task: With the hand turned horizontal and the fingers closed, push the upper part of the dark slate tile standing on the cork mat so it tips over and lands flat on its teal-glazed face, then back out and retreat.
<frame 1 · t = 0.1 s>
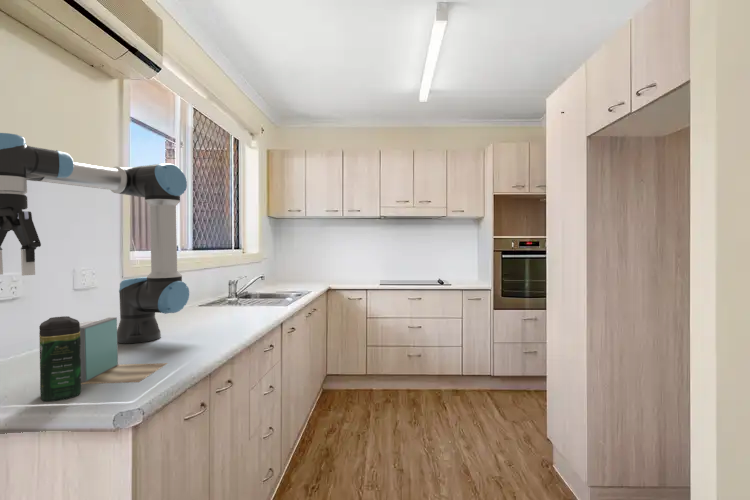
hand: (12, 275, 117), 28 cm above the countertop, tool pointing down, fingers open, 13 cm apart
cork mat: (120, 374, 122), on the countertop
coffee jar: (61, 397, 104), on the countertop
mug: (87, 356, 143), on the countertop
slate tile: (98, 373, 121), resting on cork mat
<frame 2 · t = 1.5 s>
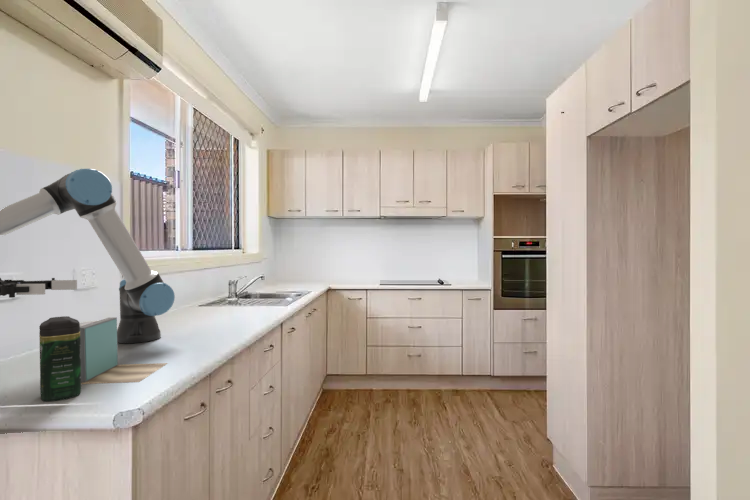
hand: (61, 286, 121), 24 cm above the countertop, tool horizontal, fingers open, 13 cm apart
nothing on the countertop moved.
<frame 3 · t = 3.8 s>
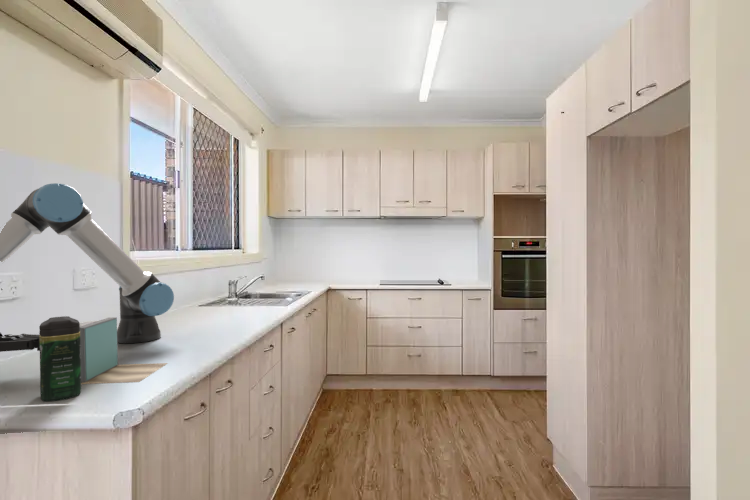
hand: (69, 341, 121), 9 cm above the countertop, tool horizontal, fingers closed
nothing on the countertop moved.
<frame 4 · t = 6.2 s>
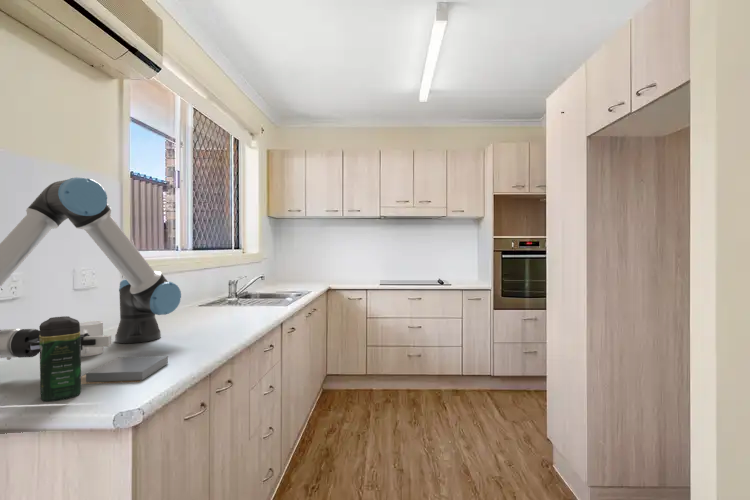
hand: (109, 340, 121), 9 cm above the countertop, tool horizontal, fingers closed
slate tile: (103, 368, 121), point 2 cm above the countertop, tilted 90°, touching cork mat
everything else where it was.
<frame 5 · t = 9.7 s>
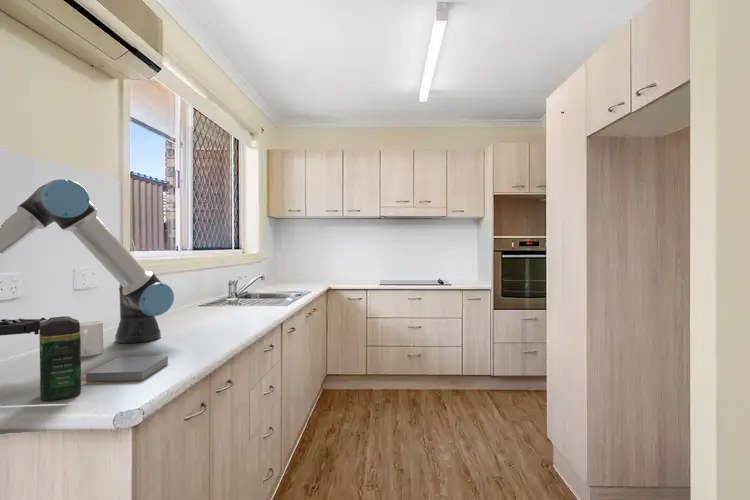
hand: (66, 324, 120), 14 cm above the countertop, tool horizontal, fingers closed
nothing on the countertop moved.
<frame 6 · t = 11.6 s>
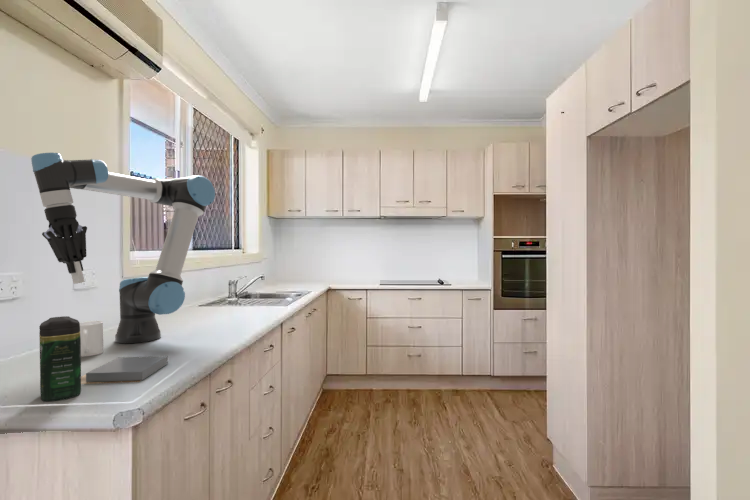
hand: (79, 282, 135), 24 cm above the countertop, tool pointing down, fingers closed
nothing on the countertop moved.
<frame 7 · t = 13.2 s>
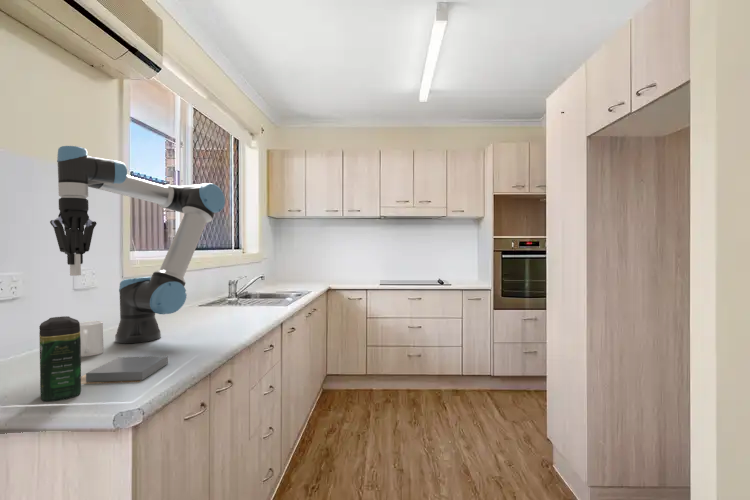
hand: (75, 275, 136), 26 cm above the countertop, tool pointing down, fingers closed
nothing on the countertop moved.
at the end: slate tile tilted 90°; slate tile 4.6 cm from the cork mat (horizontally); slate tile point 1.6 cm above the countertop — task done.
